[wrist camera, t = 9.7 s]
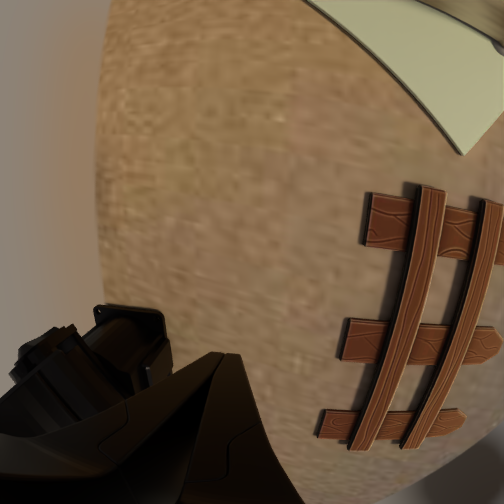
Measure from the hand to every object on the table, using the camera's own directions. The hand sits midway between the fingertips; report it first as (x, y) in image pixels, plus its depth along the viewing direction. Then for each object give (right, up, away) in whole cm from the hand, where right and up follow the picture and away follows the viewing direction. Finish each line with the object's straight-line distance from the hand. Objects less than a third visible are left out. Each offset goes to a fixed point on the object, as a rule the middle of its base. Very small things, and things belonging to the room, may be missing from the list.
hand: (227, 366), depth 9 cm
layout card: (+9, +24, +6) cm, 27 cm away
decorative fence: (+15, -4, +13) cm, 20 cm away
